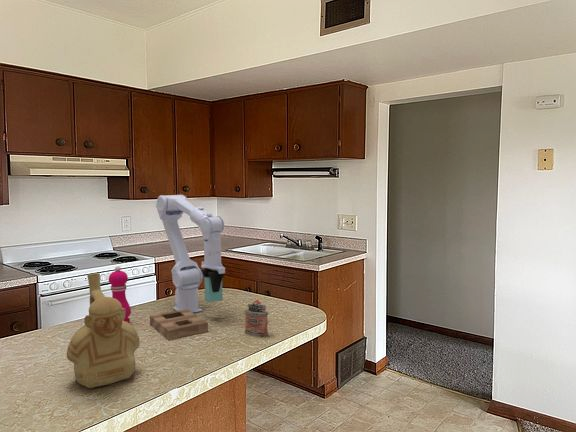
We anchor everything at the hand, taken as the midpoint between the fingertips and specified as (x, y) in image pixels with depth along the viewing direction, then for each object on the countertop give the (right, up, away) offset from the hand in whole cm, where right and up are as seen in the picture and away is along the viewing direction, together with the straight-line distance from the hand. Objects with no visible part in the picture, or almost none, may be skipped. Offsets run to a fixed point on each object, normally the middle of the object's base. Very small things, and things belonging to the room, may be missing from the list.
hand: (213, 290), depth 155 cm
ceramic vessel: (-20, -14, -43) cm, 50 cm away
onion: (+15, -11, -2) cm, 19 cm away
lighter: (+16, -12, -14) cm, 24 cm away
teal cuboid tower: (0, -3, 0) cm, 3 cm away
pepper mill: (-31, -11, -5) cm, 33 cm away
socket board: (-10, -11, -8) cm, 17 cm away
